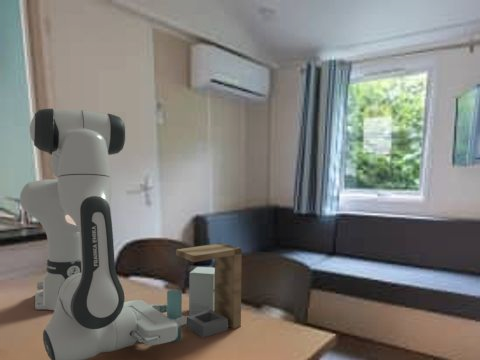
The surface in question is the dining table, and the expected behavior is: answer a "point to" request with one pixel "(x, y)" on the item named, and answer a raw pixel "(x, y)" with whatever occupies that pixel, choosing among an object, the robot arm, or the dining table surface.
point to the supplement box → (201, 290)
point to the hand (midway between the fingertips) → (175, 313)
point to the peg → (174, 308)
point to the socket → (207, 323)
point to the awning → (222, 277)
